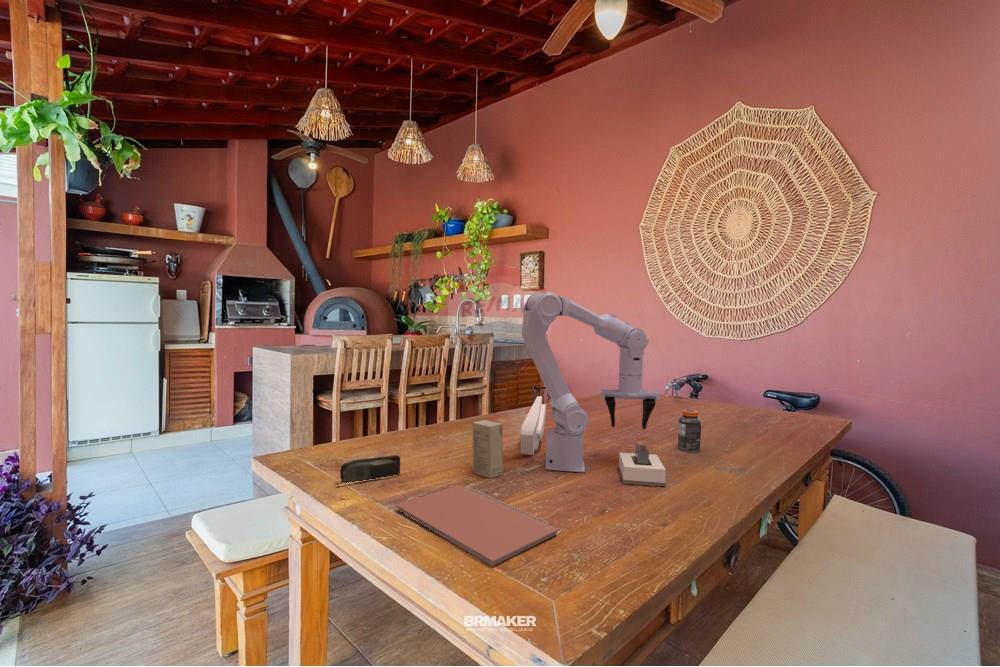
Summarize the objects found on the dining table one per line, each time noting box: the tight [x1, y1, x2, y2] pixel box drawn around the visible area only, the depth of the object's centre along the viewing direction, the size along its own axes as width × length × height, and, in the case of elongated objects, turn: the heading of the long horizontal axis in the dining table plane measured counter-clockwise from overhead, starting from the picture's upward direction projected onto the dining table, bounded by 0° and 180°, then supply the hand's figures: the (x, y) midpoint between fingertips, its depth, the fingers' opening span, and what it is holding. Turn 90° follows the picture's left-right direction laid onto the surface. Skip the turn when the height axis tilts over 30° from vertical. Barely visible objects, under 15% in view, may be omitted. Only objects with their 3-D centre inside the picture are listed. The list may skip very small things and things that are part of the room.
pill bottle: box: [677, 408, 702, 453], centre depth 138 cm, size 6×6×11 cm
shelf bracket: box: [520, 395, 547, 456], centre depth 139 cm, size 6×25×13 cm, turn 168°
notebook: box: [395, 484, 559, 567], centre depth 90 cm, size 27×17×2 cm, turn 44°
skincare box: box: [472, 419, 504, 479], centre depth 115 cm, size 6×4×12 cm
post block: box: [618, 452, 667, 487], centre depth 115 cm, size 9×11×4 cm
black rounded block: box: [339, 454, 401, 483], centre depth 109 cm, size 5×3×15 cm
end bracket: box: [634, 444, 650, 465], centre depth 115 cm, size 2×5×6 cm, turn 172°
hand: (628, 427), depth 125 cm, fingers open, 7 cm apart
